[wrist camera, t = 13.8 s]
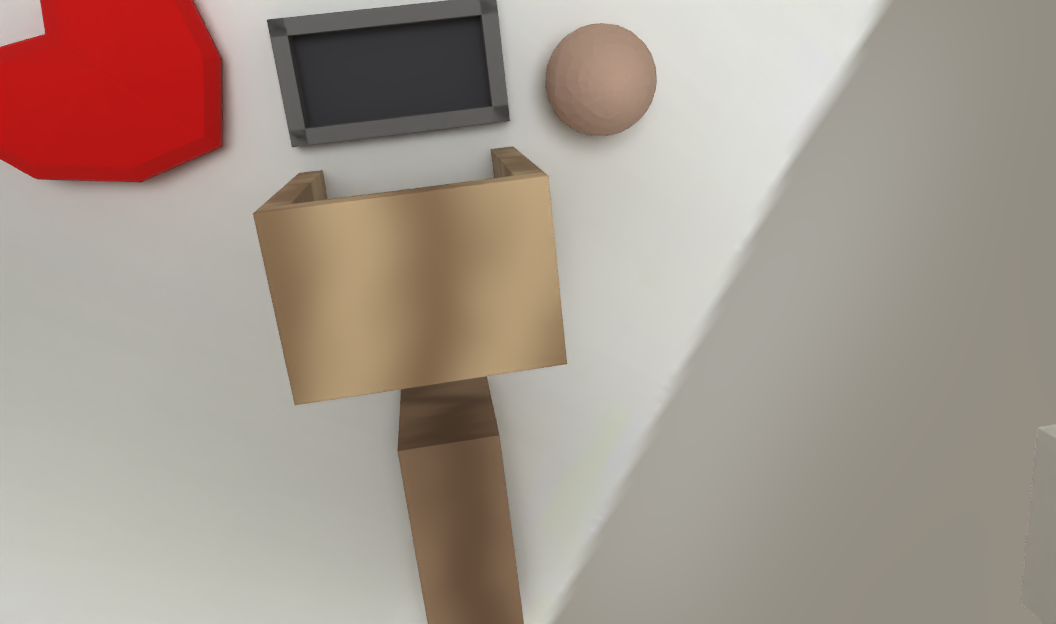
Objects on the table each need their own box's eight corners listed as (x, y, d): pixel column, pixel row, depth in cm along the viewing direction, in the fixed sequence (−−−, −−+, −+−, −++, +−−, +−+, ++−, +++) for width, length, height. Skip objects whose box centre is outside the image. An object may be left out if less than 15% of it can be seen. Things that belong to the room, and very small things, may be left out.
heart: (286, 50, 41) (99, -82, 38) (288, 42, 37) (80, -107, 34) (162, 240, 41) (-37, 127, 38) (151, 252, 38) (-72, 127, 34)
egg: (654, 66, 42) (700, 65, 35) (596, 150, 43) (631, 165, 36) (574, 5, 41) (606, -8, 34) (517, 93, 42) (537, 98, 35)
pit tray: (297, 143, 41) (291, 147, 39) (273, 21, 39) (266, 19, 38) (506, 118, 42) (509, 120, 40) (492, -2, 40) (495, -5, 39)
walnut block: (437, 602, 51) (440, 696, 43) (401, 388, 46) (397, 451, 38) (514, 589, 51) (530, 679, 43) (486, 375, 46) (499, 435, 39)
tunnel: (327, 316, 44) (294, 405, 32) (298, 173, 42) (253, 213, 30) (528, 288, 45) (566, 364, 33) (512, 146, 43) (548, 175, 31)
